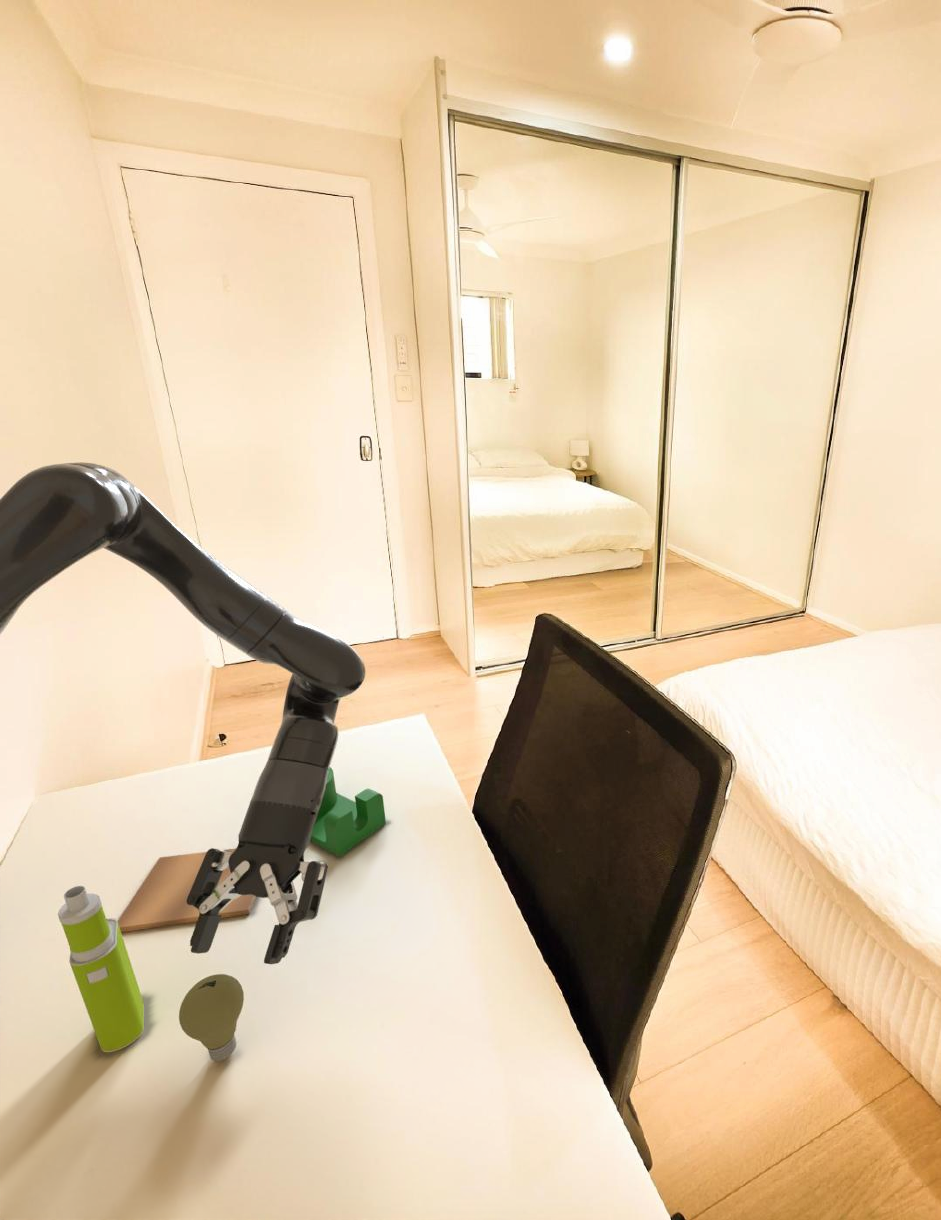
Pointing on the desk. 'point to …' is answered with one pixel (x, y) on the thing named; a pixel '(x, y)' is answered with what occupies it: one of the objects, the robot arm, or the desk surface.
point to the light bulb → (213, 1014)
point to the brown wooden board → (174, 895)
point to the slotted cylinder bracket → (346, 818)
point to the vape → (102, 970)
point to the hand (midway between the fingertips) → (235, 958)
